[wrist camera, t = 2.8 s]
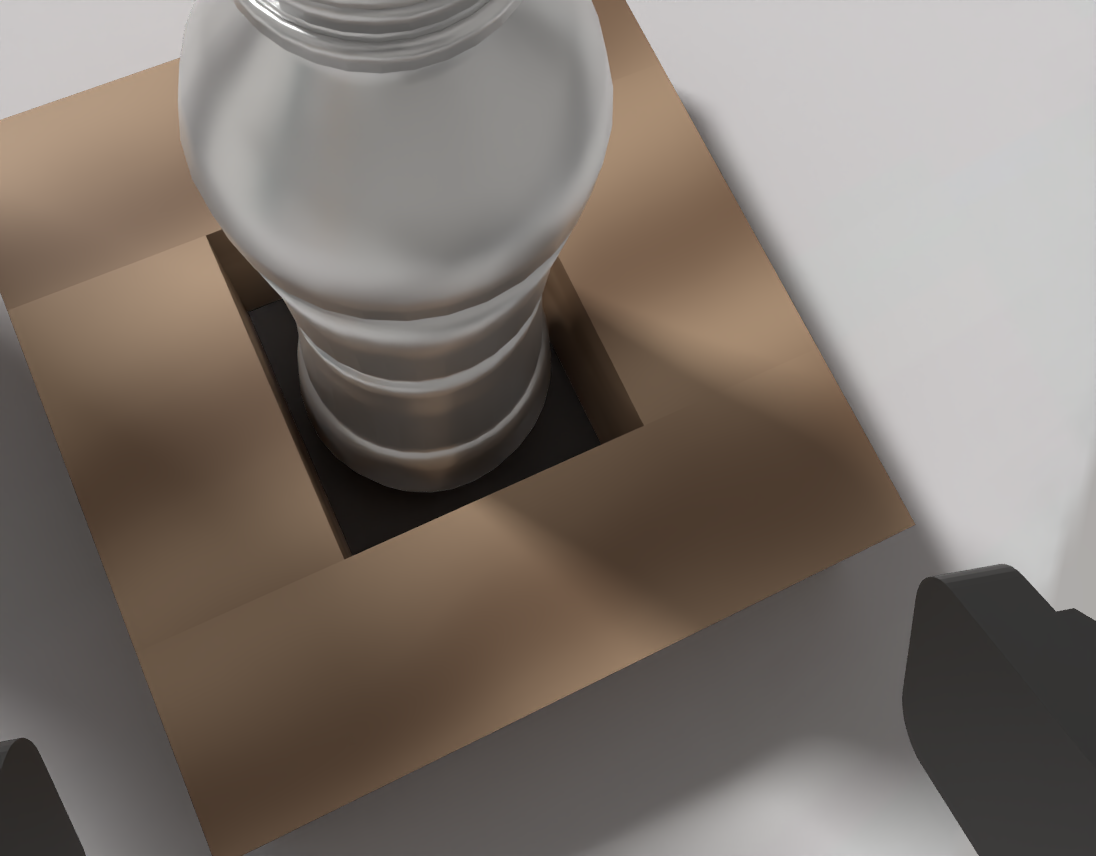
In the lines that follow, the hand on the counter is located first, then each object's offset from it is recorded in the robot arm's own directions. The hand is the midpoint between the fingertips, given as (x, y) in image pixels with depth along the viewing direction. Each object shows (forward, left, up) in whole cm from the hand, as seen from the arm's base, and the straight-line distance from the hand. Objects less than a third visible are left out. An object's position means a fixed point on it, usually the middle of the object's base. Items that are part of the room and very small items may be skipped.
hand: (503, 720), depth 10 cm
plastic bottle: (-9, +2, -19) cm, 21 cm away
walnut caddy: (-9, +2, -18) cm, 20 cm away
